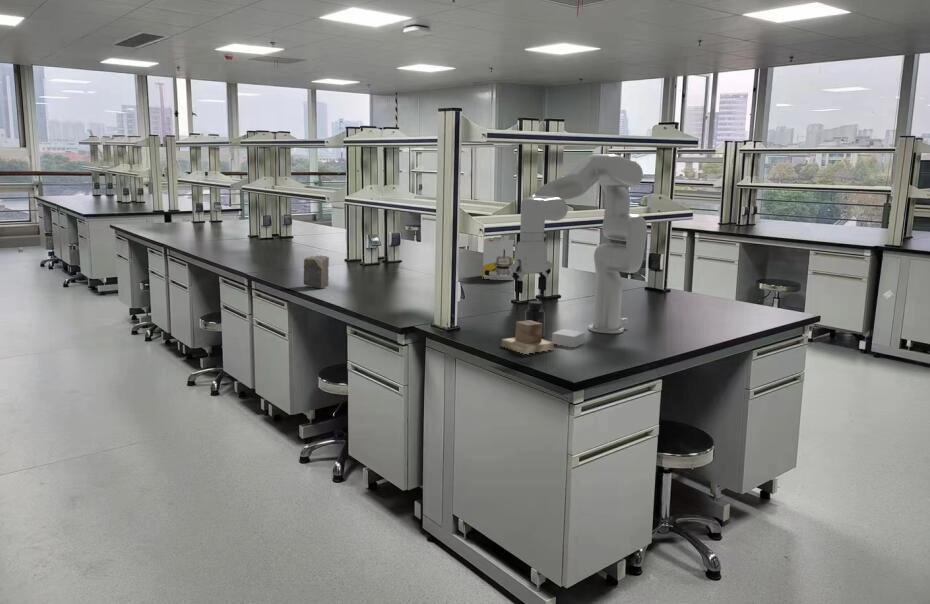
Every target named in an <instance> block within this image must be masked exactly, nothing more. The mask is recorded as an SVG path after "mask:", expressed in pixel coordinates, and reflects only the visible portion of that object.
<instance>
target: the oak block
mask: <svg viewBox="0 0 930 604" xmlns="http://www.w3.org/2000/svg"><path fill="white" fill-rule="evenodd" d="M501 347H502V348H504V347H505V349H507V348H508V349H507V350H510V349H511V350H510V351H514V352H515V351H516V352H515V353H518V352H520V353H519V354H521V353H523V354H522V355H524V354H527V355H530V354H529V353H533V354H536V353H535V352H539V353H543V352H542V351H545V352H549V351H548V350H551V351H554V350H555V345H554V343H553V342H552V341H549V340H546V339H544V338H542V340H541V342H537V343H530V344H526V343H523V342H520V341H517V340H515V337H509V338H508V337H507V338H502V339H501Z"/></svg>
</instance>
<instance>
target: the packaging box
mask: <svg viewBox="0 0 930 604" xmlns="http://www.w3.org/2000/svg"><path fill="white" fill-rule="evenodd" d="M513 244H514V236H504V237H494V238H486V239H484V238H483V248H482V249H483V251H482V252H483V253H482V255H483V256H482V261H483V262H482V278H483V277H512V276H511V273H510V271H509V266H511V265H512V264H513Z"/></svg>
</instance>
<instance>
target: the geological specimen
mask: <svg viewBox="0 0 930 604" xmlns="http://www.w3.org/2000/svg"><path fill="white" fill-rule="evenodd" d="M329 261H330V258H329V256H324V255H312V256H308V257H305V258H304V259H303V285H305V286H309V287H312V288H315V289H325V288H327V287H328V286H329V278H330V277H329V265H330V264H329Z"/></svg>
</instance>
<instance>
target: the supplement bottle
mask: <svg viewBox="0 0 930 604" xmlns="http://www.w3.org/2000/svg"><path fill="white" fill-rule="evenodd" d="M527 307H528V308H527V309H526V310H525V311H524V321H528V320H531V321H535V322H538V323H542V338H544V337H545V320H546V312H545V310H543V302H542V301H540V300H530V301H528V305H527Z"/></svg>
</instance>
